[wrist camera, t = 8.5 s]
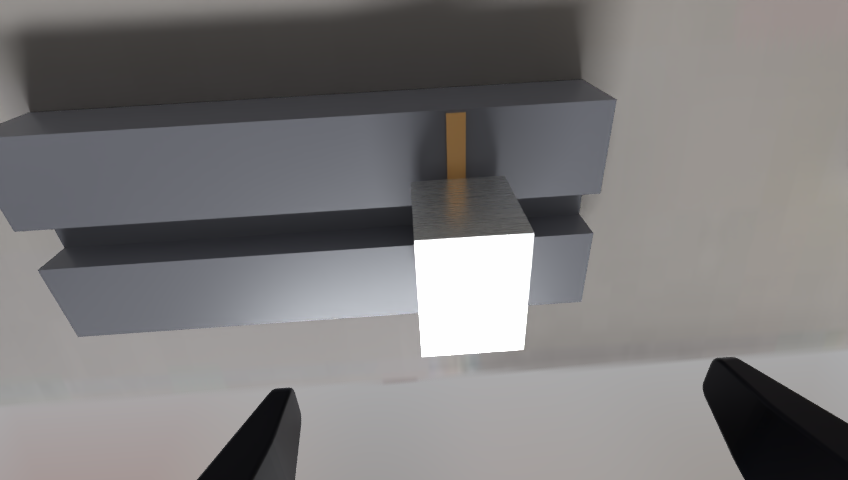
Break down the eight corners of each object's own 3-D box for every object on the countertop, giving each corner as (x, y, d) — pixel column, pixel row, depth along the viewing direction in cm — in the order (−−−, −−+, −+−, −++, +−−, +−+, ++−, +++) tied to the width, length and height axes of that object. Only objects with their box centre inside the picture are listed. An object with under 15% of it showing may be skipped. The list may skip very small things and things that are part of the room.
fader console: (118, 290, 20) (76, 338, 17) (29, 112, 16) (-45, 140, 13) (558, 260, 20) (582, 303, 18) (582, 79, 16) (617, 100, 14)
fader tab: (415, 254, 18) (421, 356, 13) (408, 159, 16) (413, 240, 11) (490, 249, 18) (523, 349, 13) (493, 154, 16) (534, 232, 11)
